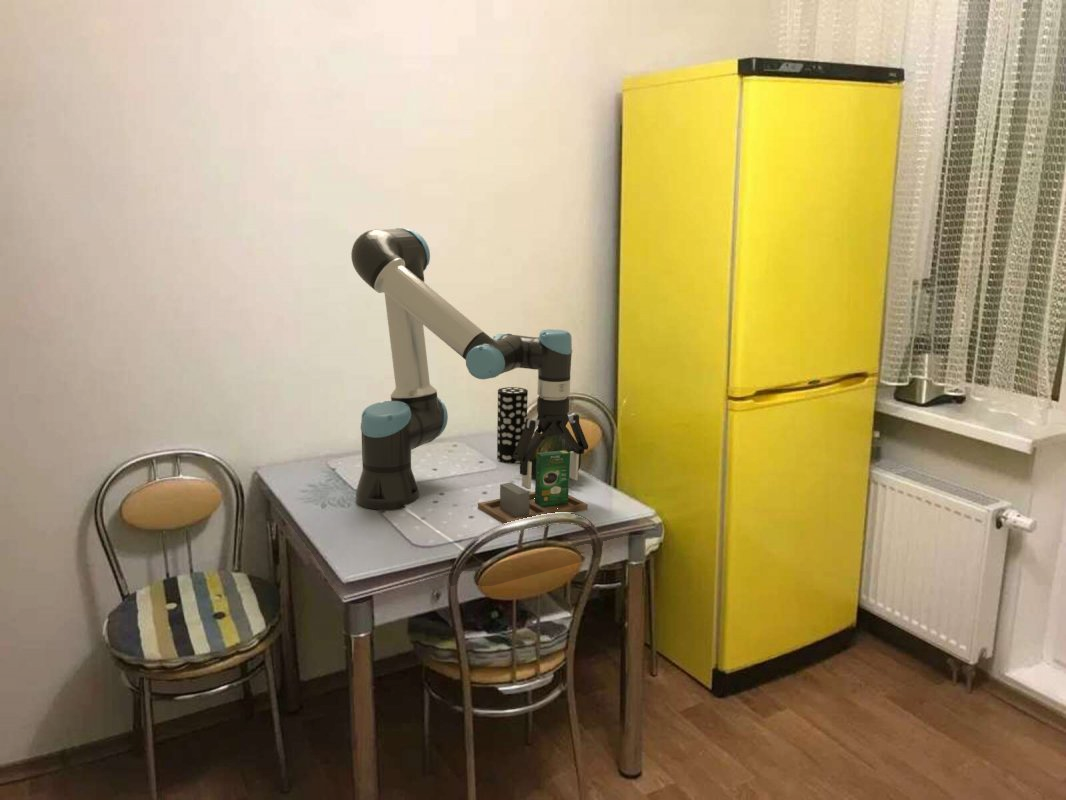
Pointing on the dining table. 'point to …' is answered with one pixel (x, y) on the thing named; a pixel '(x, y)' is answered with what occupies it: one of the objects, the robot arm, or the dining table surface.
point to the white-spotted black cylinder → (510, 421)
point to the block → (514, 500)
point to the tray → (530, 508)
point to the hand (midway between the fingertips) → (550, 483)
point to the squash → (550, 449)
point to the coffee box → (552, 478)
